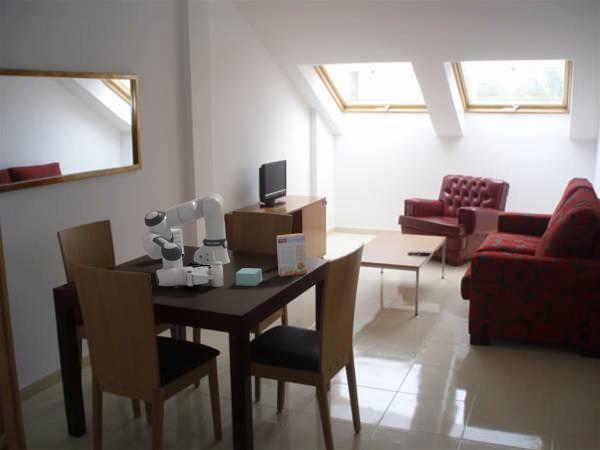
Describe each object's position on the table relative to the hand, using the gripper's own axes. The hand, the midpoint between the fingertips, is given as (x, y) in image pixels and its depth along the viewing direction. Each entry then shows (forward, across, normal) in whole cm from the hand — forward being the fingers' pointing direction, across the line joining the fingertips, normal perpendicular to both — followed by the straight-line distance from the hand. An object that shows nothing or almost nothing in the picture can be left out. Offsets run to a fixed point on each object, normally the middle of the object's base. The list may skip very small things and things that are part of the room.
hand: (217, 273), depth 326 cm
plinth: (+15, -1, -6) cm, 16 cm away
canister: (0, 0, -6) cm, 6 cm away
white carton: (-26, -69, -6) cm, 74 cm away
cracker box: (+38, -11, -6) cm, 40 cm away
